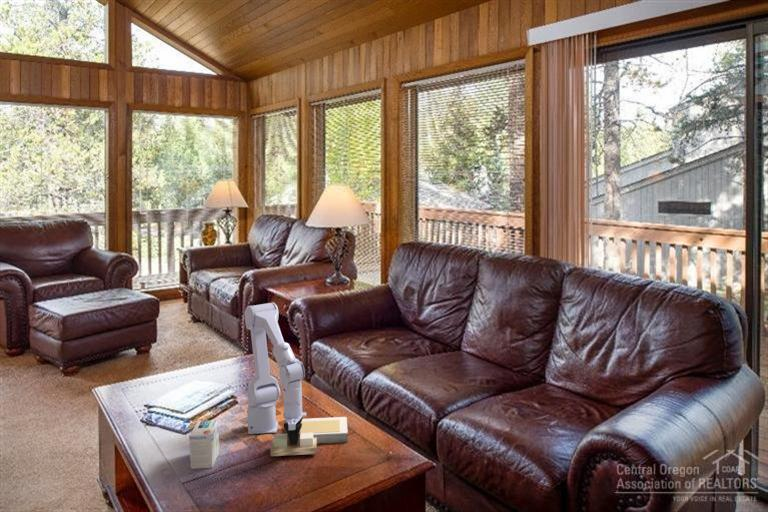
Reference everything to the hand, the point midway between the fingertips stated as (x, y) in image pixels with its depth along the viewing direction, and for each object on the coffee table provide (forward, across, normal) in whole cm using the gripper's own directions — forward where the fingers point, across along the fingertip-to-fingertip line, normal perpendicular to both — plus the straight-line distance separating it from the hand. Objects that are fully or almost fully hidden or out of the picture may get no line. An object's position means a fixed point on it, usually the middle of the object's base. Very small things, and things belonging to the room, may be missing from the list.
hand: (294, 441), depth 182 cm
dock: (+3, +12, -7) cm, 14 cm away
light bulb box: (+4, -2, +27) cm, 27 cm away
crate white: (+1, 0, -4) cm, 4 cm away
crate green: (+1, 0, +4) cm, 4 cm away
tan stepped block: (+3, 0, 0) cm, 3 cm away
